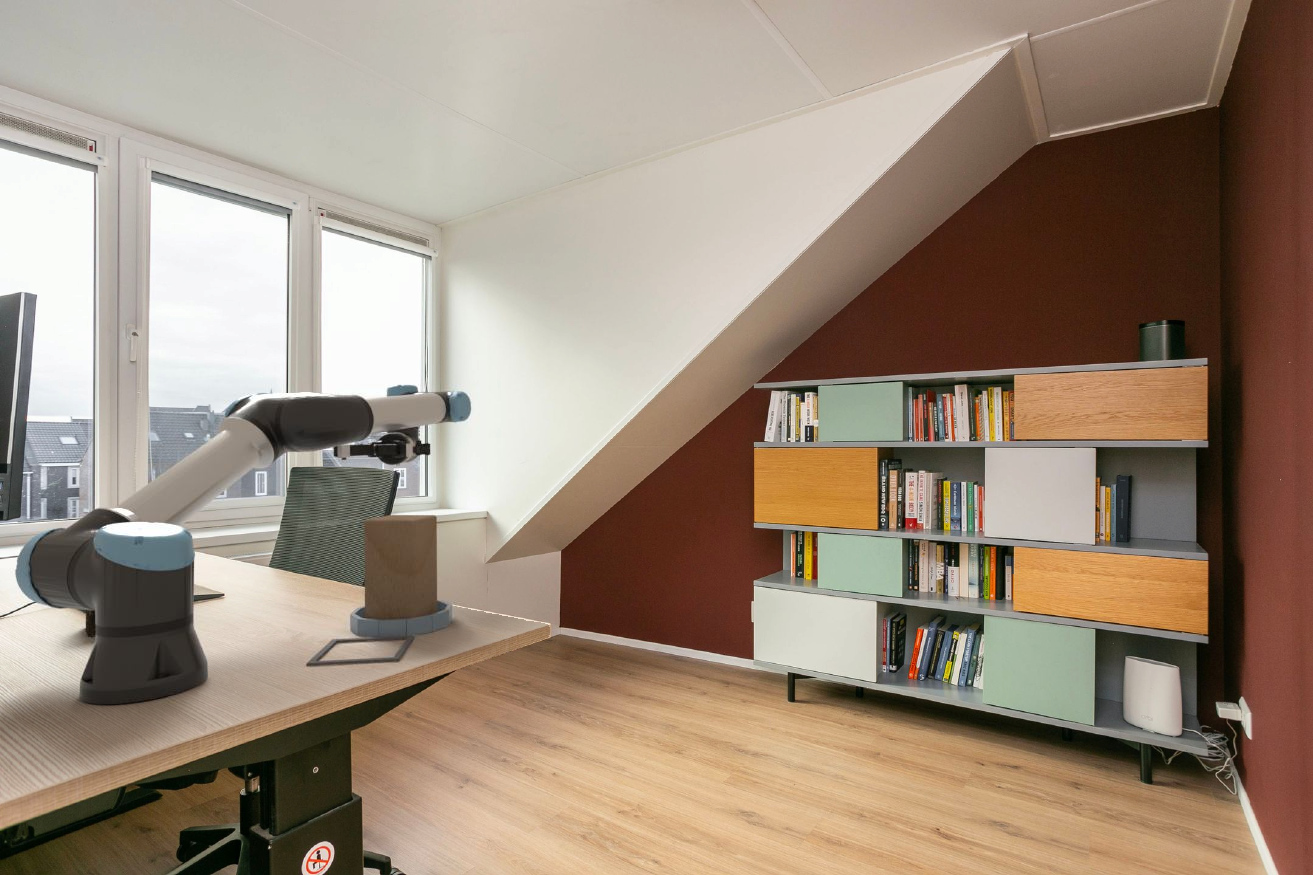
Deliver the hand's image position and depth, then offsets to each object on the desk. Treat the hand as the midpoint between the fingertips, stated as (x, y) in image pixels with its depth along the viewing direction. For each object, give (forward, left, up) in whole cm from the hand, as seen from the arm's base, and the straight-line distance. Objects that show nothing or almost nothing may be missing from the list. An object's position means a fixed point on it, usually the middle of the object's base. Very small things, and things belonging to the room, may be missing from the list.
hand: (374, 450), depth 149 cm
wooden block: (-13, -8, -33) cm, 36 cm away
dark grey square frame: (-29, -5, -34) cm, 45 cm away
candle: (-4, +46, -34) cm, 57 cm away
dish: (-12, -8, -34) cm, 36 cm away
